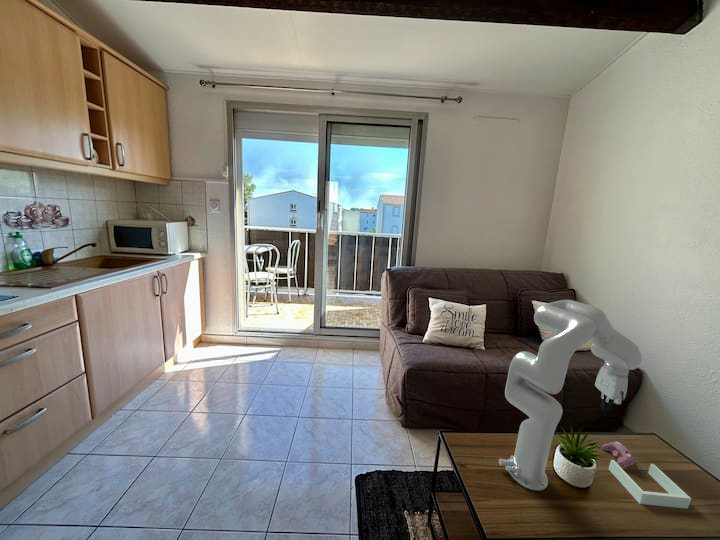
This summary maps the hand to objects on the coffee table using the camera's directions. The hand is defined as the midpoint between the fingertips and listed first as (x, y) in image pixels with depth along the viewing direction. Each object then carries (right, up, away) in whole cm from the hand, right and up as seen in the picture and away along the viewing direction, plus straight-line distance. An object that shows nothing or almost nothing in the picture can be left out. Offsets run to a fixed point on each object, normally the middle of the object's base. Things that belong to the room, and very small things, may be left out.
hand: (605, 408), depth 120 cm
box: (-2, -18, -19) cm, 26 cm away
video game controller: (-3, -16, -8) cm, 18 cm away
